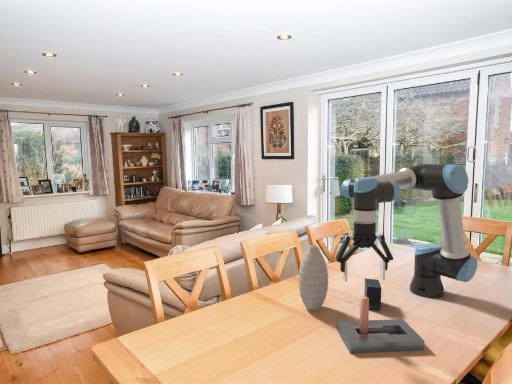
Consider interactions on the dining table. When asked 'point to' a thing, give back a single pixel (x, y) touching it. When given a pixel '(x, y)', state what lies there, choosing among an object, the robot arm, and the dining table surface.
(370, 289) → the small box
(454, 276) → the robot arm
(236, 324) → the dining table surface
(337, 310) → the dining table surface
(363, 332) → the stud
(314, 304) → the vase
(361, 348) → the grey slotted plate
